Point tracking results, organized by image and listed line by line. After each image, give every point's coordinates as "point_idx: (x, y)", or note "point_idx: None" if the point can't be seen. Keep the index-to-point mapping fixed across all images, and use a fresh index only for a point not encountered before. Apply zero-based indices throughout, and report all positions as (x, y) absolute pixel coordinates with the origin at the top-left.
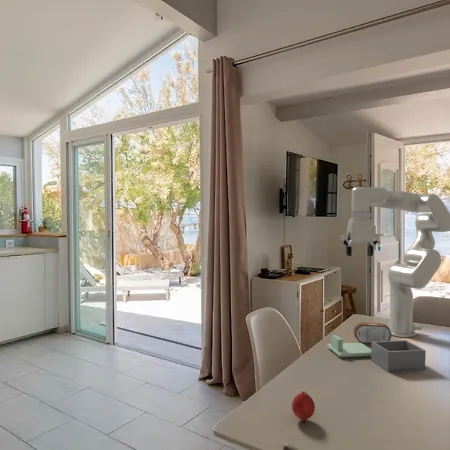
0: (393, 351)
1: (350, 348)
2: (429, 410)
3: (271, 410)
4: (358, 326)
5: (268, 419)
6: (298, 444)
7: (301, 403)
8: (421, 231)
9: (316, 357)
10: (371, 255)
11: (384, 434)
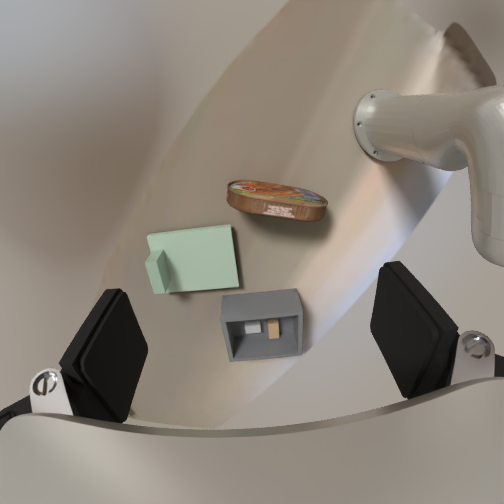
0: (240, 360)
1: (191, 265)
2: (232, 403)
3: None
4: (234, 205)
5: None
6: None
7: None
8: None
9: (124, 279)
10: (374, 331)
11: (176, 419)
